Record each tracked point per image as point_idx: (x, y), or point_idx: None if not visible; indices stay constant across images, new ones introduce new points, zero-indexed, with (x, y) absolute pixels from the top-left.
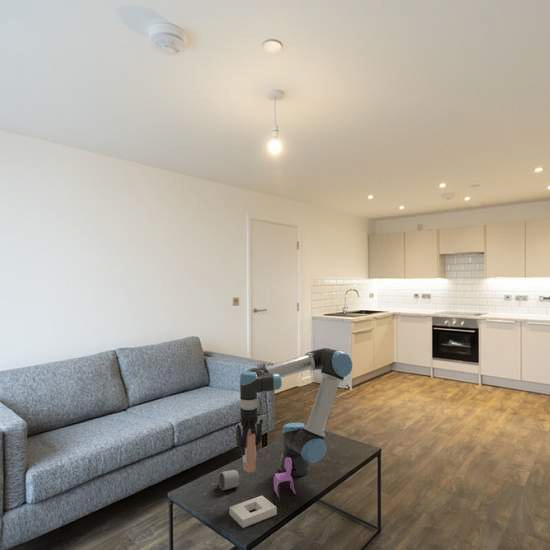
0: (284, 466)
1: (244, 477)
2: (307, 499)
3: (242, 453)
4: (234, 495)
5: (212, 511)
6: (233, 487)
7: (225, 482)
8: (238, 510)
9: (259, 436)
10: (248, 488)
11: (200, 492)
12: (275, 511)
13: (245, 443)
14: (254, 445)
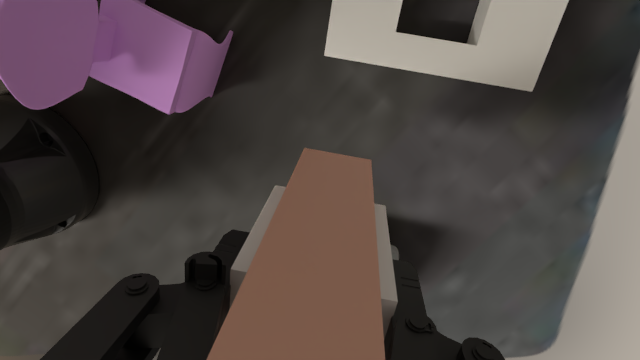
0: (82, 85)
1: None
2: None
3: (418, 278)
4: (379, 191)
5: (544, 162)
6: None
7: (396, 259)
8: (530, 26)
9: (102, 347)
10: None
11: (460, 300)
12: None
13: (398, 357)
14: (266, 266)
